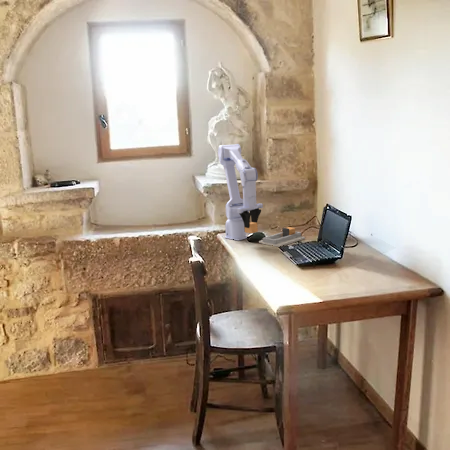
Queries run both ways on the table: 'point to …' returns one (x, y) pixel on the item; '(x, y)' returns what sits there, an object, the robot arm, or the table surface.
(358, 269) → the table surface
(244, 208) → the robot arm
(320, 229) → the dark thin upright piece
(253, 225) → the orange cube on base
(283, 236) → the grey frame base
